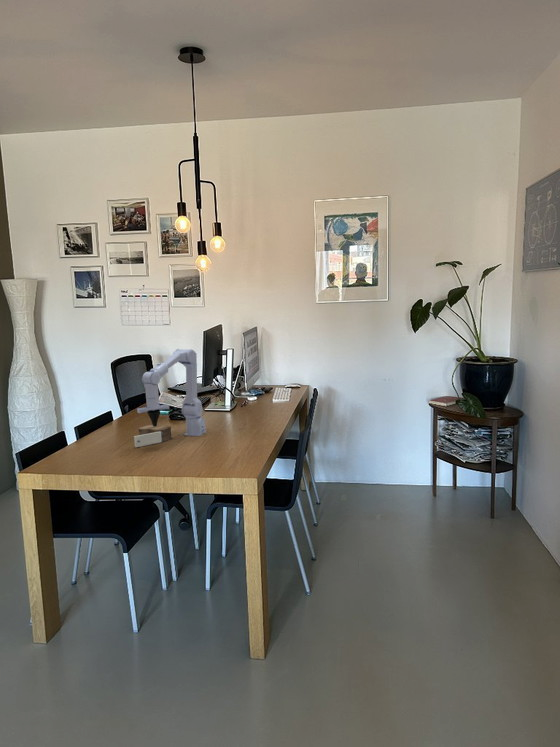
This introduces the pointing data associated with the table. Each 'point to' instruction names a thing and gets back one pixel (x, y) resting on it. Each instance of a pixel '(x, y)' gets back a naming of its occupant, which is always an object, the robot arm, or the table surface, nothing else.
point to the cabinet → (152, 429)
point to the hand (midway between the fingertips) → (154, 426)
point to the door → (148, 439)
